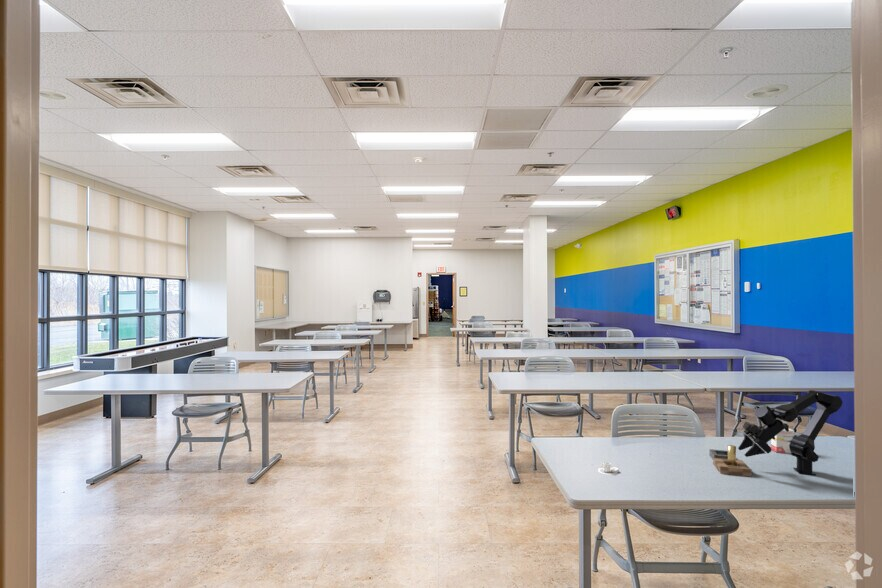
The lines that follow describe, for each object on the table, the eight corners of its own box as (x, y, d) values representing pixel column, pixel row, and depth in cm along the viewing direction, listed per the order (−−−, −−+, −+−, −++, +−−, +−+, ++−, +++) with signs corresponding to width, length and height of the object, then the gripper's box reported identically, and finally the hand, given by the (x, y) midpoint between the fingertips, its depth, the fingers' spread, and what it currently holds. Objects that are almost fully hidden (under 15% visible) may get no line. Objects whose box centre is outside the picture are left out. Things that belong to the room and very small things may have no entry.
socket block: (735, 463, 225) (735, 456, 225) (714, 461, 228) (714, 455, 228) (729, 457, 234) (729, 450, 234) (709, 455, 237) (709, 449, 237)
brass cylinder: (736, 471, 215) (736, 447, 215) (728, 471, 216) (728, 446, 216) (734, 469, 218) (734, 445, 218) (726, 468, 219) (726, 444, 219)
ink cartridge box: (776, 452, 241) (776, 423, 241) (770, 449, 246) (770, 421, 246) (794, 453, 240) (794, 424, 240) (788, 450, 245) (788, 421, 245)
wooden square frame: (751, 476, 209) (751, 469, 209) (720, 473, 213) (720, 466, 213) (742, 466, 221) (742, 460, 221) (713, 464, 224) (713, 457, 224)
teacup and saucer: (619, 471, 216) (619, 462, 216) (616, 477, 209) (616, 468, 209) (599, 467, 220) (600, 459, 220) (595, 473, 213) (595, 464, 213)
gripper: (748, 411, 223) (722, 433, 226) (762, 422, 205) (734, 445, 208) (768, 429, 221) (741, 451, 224) (784, 441, 203) (754, 465, 206)
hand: (742, 452), depth 216 cm, fingers open, 9 cm apart
